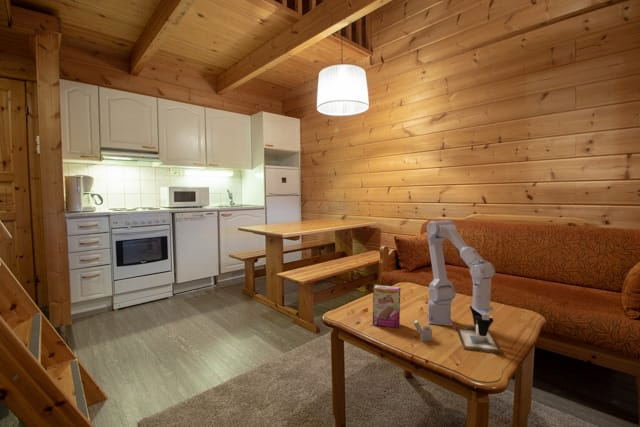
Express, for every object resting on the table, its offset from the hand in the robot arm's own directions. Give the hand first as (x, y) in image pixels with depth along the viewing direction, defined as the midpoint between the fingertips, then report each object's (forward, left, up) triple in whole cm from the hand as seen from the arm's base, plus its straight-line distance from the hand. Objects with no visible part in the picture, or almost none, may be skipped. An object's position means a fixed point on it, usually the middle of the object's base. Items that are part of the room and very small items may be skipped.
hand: (480, 330), depth 111 cm
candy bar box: (-34, +7, -5) cm, 36 cm away
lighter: (-20, -3, -5) cm, 21 cm away
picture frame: (0, +2, -5) cm, 5 cm away
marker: (0, 0, -4) cm, 4 cm away
